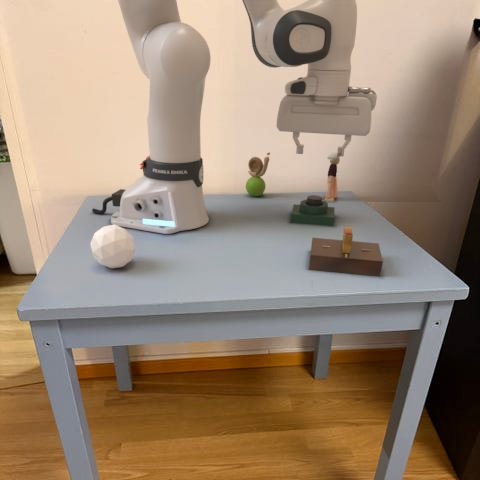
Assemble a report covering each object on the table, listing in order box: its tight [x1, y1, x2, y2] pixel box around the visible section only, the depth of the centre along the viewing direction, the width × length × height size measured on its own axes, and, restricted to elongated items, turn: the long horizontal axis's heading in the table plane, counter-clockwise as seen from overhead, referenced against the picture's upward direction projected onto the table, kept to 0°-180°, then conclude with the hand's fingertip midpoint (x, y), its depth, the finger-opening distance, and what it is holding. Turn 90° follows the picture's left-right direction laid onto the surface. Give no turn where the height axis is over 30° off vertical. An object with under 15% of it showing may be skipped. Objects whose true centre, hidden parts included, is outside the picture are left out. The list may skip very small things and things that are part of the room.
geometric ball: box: [89, 224, 136, 270], centre depth 82 cm, size 8×8×8 cm
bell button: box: [306, 194, 323, 206], centre depth 108 cm, size 4×4×2 cm
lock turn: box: [341, 226, 354, 253], centre depth 85 cm, size 5×1×4 cm, turn 170°
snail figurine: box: [245, 151, 271, 197], centre depth 123 cm, size 5×6×12 cm
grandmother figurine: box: [324, 150, 341, 203], centre depth 122 cm, size 8×4×13 cm, turn 179°
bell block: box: [290, 199, 335, 227], centre depth 109 cm, size 10×8×4 cm
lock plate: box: [308, 237, 384, 277], centre depth 87 cm, size 13×9×3 cm
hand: (319, 154), depth 102 cm, fingers open, 8 cm apart
